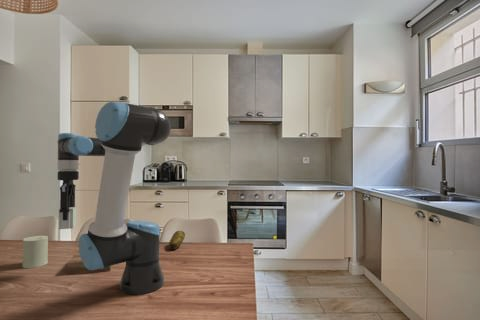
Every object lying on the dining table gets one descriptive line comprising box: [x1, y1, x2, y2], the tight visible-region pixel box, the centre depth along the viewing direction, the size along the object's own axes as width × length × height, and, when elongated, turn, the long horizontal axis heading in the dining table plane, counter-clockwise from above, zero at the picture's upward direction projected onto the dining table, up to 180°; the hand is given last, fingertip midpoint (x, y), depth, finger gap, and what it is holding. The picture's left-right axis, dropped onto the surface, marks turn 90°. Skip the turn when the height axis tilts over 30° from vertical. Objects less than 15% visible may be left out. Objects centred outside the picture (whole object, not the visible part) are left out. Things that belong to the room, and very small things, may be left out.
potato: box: [168, 230, 186, 250], centre depth 152 cm, size 8×13×8 cm, turn 154°
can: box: [21, 235, 49, 269], centre depth 125 cm, size 9×9×12 cm
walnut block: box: [66, 250, 114, 275], centre depth 123 cm, size 16×16×5 cm
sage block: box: [58, 206, 77, 230], centre depth 118 cm, size 5×5×8 cm
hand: (67, 226), depth 118 cm, fingers closed on sage block, 5 cm apart
